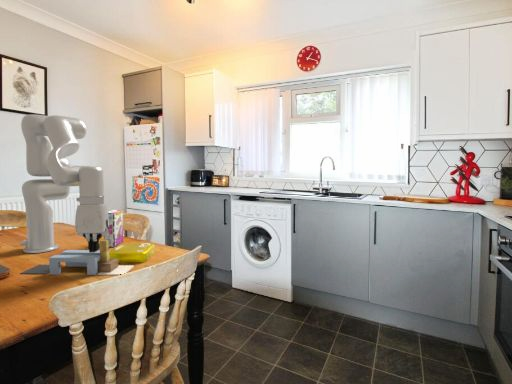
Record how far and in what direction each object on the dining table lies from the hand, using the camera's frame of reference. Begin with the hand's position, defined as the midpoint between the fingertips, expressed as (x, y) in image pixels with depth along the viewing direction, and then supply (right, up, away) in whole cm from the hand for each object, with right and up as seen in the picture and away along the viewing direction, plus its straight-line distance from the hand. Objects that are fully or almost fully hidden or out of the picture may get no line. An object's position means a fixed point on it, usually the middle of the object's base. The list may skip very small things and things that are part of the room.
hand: (93, 251), depth 104 cm
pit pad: (-19, -7, +1) cm, 20 cm away
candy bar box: (-10, -4, +35) cm, 37 cm away
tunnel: (-5, -7, +1) cm, 9 cm away
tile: (+8, -7, +1) cm, 11 cm away
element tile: (+7, -6, +16) cm, 19 cm away
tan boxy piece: (+4, -7, +1) cm, 8 cm away
